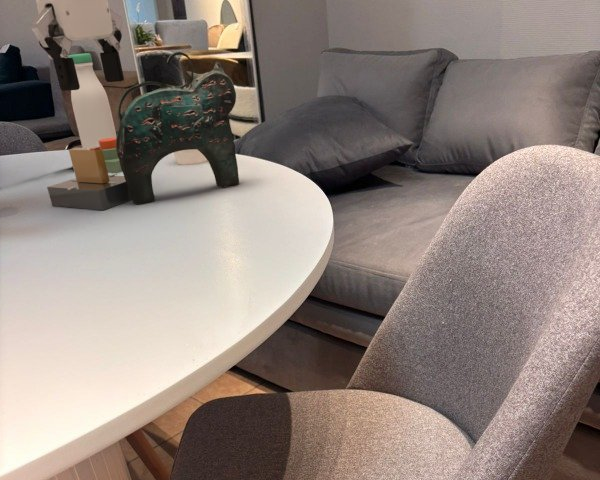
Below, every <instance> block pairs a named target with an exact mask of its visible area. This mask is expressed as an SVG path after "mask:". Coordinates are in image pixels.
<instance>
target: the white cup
mask: <svg viewBox="0 0 600 480" xmlns="http://www.w3.org/2000/svg"><path fill="white" fill-rule="evenodd" d="M173 155H174V161H175V163H176V164H177V165H180V166H187V165H197V164H202V163H206V162H208V160H207V159H206V158H205V156H204V155H203V154H202V153H201V152H200V151H198V150H197V149H192V150H182V151H177V152H173Z"/></svg>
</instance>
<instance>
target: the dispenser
mask: <svg viewBox="0 0 600 480" xmlns="http://www.w3.org/2000/svg"><path fill="white" fill-rule="evenodd" d="M102 150H103V155H104V159H105V163H106V167H107V172H108V174H120V173H123V172H122V169H121V166H120V162H119V158H118V155H117V150H116V148H111V149H102Z"/></svg>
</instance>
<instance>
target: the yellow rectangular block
mask: <svg viewBox="0 0 600 480" xmlns="http://www.w3.org/2000/svg"><path fill="white" fill-rule="evenodd" d="M68 151H69V152H68V153H69V156H70V160H71V164H72V168H73V172H74V175H75V178H76V180H77V182H86V183H101V184H103V183H106V182H109V181H110V180H109V176H108V175H109V173H108V172H107V167H106V163H105V159H104V155H103V150H102V148H100V147H93V148H82V147H73V148H69V149H68Z"/></svg>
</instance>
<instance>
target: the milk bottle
mask: <svg viewBox="0 0 600 480" xmlns="http://www.w3.org/2000/svg"><path fill="white" fill-rule="evenodd" d="M68 58H73V61H74V64H75V69H76V73H77V77H78V81H79V85H80V88H79V89H78V90H70V100H71V105H72V106H71V107H72V110H73V114H74V115H73V116H74V119H75V123H76V127H77V132H78V136H79V140H80V144H81V148H93V147H100V145H99V140H102V139H107V138H116V136H117V132H116V131H117V130H116V128H115V121H114V119H113V114H112V109H111V104H110V101H109V98H108V94H107V92H106V90H105V88H104V87H103V84H102V83H101V81H100V80H99V78H98V77H97V75H96V73H95V71H94V67H93V65H94V63H93V58H92V55H91V53H88V52H87V53H76V54H69V56H68Z"/></svg>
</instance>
